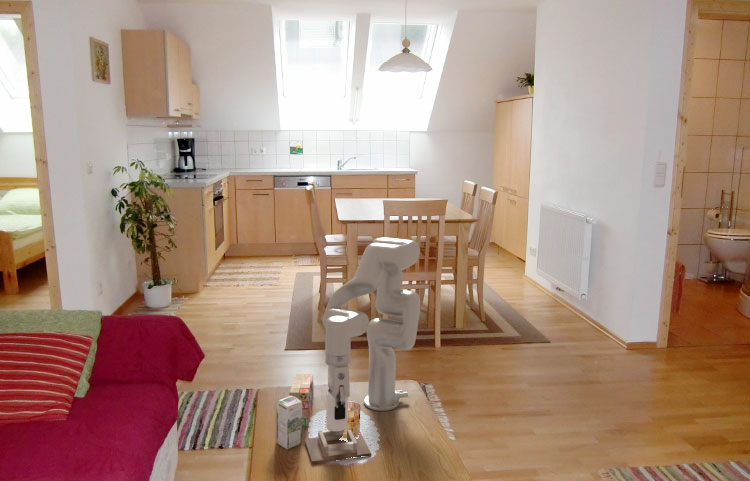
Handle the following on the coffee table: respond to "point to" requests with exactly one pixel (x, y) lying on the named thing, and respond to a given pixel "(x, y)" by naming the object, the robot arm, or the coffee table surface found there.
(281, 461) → the coffee table surface
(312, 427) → the coffee table surface
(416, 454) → the coffee table surface
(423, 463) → the coffee table surface
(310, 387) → the stack of blocks
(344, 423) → the can
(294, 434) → the syrup box
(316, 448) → the collar board
